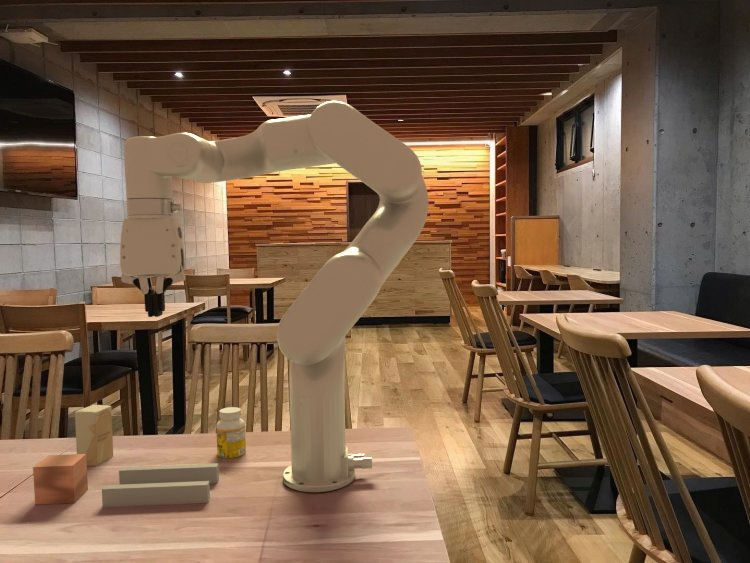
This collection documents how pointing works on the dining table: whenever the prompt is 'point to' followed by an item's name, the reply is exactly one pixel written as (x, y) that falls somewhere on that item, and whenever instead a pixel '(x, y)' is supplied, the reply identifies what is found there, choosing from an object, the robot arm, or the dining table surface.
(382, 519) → the dining table surface
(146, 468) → the chute
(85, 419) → the box
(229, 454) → the supplement bottle
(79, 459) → the block
